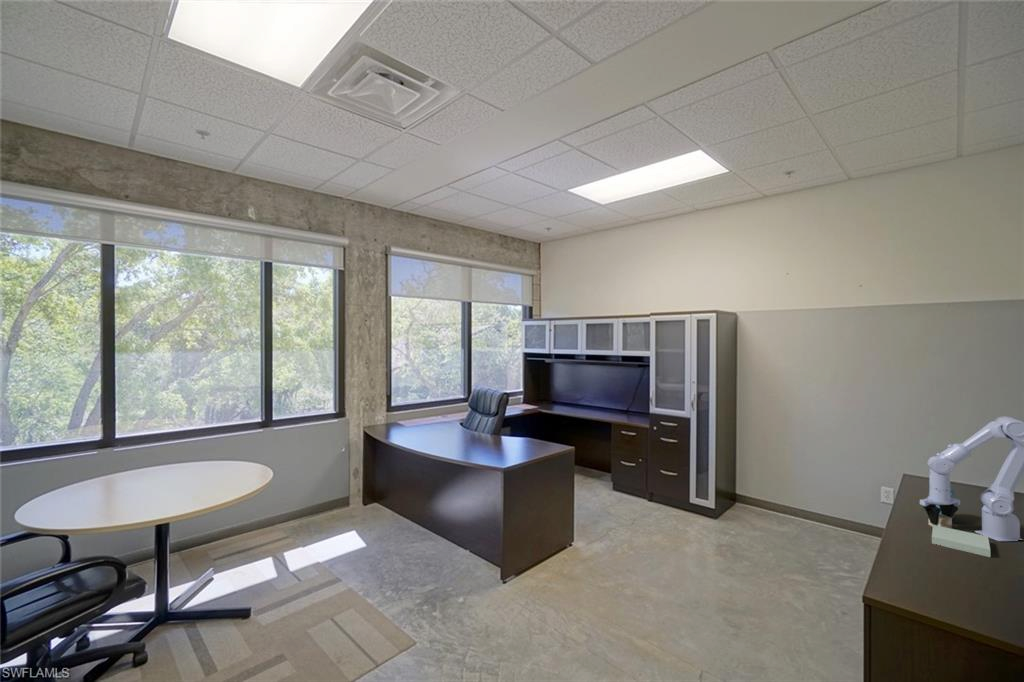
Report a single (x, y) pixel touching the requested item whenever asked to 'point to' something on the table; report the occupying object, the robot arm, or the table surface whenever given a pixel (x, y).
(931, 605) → the table surface
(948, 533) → the base board
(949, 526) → the maple block
